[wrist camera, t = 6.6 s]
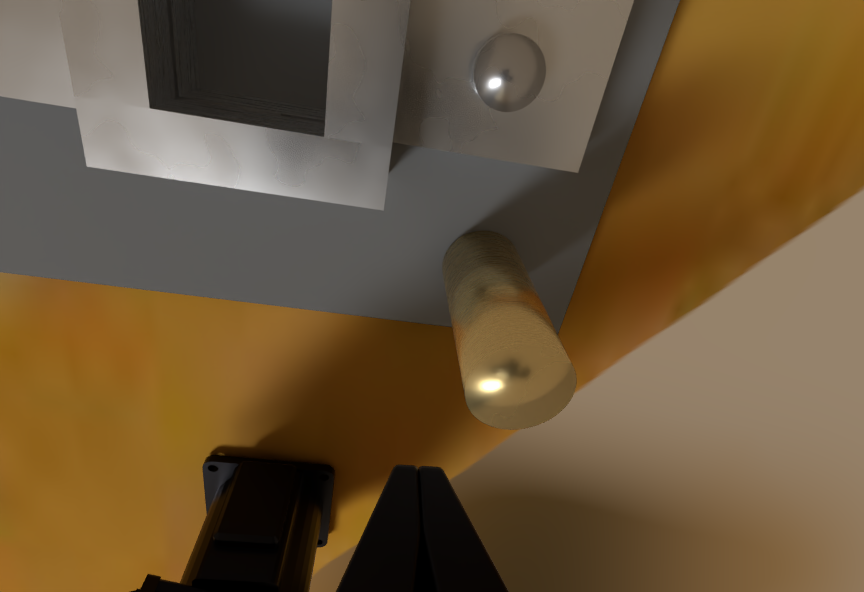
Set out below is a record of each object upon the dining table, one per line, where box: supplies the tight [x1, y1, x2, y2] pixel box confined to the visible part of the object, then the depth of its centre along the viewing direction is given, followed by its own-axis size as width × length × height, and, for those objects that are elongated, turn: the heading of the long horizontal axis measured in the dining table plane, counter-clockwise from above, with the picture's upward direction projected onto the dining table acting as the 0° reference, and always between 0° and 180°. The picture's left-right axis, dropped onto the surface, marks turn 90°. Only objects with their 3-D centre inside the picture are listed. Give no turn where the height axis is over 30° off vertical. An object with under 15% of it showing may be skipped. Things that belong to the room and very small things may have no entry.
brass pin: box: [442, 231, 576, 430], centre depth 16 cm, size 3×3×7 cm
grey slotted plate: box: [167, 0, 634, 173], centre depth 13 cm, size 8×26×2 cm, turn 80°
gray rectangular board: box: [0, 0, 680, 335], centre depth 16 cm, size 16×30×1 cm, turn 80°
